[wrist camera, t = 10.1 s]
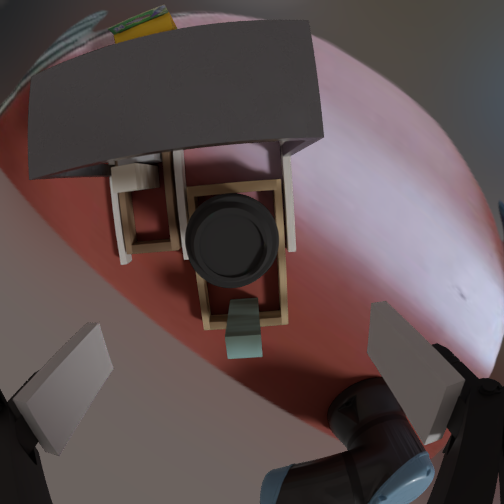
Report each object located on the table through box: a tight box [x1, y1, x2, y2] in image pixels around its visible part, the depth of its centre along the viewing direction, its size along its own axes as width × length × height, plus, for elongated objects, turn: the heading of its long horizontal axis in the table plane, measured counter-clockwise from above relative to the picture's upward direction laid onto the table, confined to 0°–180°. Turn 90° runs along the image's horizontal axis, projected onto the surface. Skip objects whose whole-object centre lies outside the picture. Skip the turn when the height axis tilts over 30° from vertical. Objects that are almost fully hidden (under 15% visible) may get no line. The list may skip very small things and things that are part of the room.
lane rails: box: [108, 141, 296, 265], centre depth 38 cm, size 23×24×2 cm
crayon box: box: [108, 5, 177, 44], centre depth 29 cm, size 7×3×12 cm, turn 106°
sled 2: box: [186, 179, 288, 359], centre depth 36 cm, size 20×12×11 cm, turn 4°
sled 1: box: [111, 151, 182, 254], centre depth 35 cm, size 20×8×9 cm, turn 4°
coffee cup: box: [185, 193, 279, 288], centre depth 34 cm, size 9×9×15 cm
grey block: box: [118, 153, 163, 166], centre depth 36 cm, size 5×5×5 cm
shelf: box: [28, 20, 324, 180], centre depth 28 cm, size 10×24×20 cm, turn 94°
